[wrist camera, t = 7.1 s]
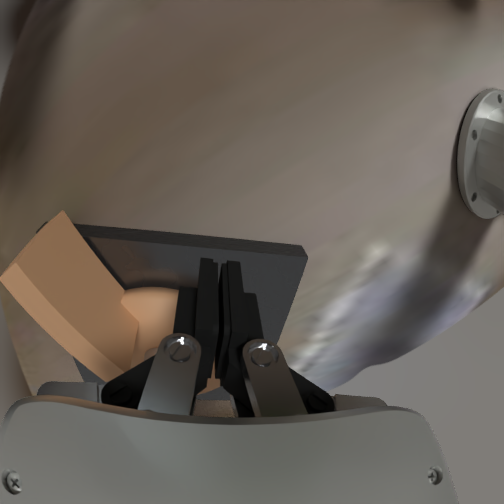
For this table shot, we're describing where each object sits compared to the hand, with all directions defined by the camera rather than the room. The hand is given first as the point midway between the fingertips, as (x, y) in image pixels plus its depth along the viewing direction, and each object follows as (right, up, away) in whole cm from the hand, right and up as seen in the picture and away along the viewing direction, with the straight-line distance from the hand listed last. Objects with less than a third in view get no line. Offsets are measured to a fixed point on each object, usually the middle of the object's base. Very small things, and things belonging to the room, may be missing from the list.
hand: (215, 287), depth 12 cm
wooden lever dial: (-7, -3, +6) cm, 10 cm away
